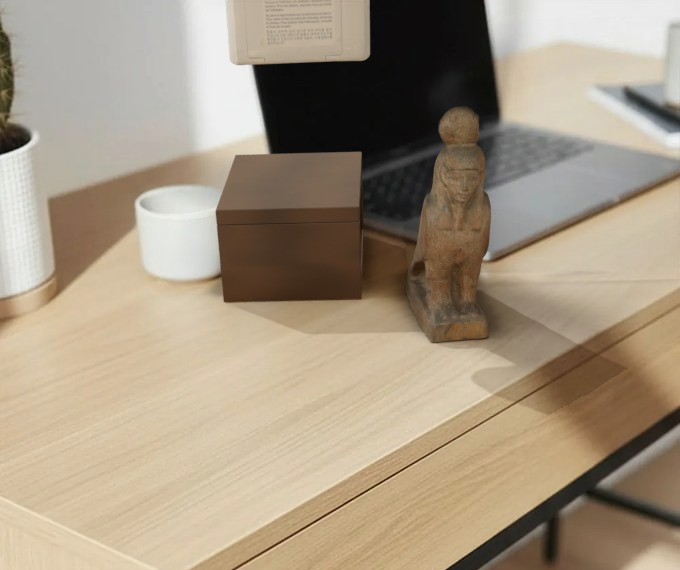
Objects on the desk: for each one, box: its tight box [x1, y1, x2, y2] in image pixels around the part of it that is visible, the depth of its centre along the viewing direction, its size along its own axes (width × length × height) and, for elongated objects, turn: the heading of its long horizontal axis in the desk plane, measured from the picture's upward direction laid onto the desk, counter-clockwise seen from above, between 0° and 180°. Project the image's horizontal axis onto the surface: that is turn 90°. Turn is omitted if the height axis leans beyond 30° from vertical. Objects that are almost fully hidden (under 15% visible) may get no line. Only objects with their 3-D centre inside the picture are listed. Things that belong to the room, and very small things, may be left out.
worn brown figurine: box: [404, 105, 492, 343], centre depth 88 cm, size 12×6×18 cm, turn 2°
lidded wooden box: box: [215, 151, 365, 303], centre depth 100 cm, size 11×15×8 cm
